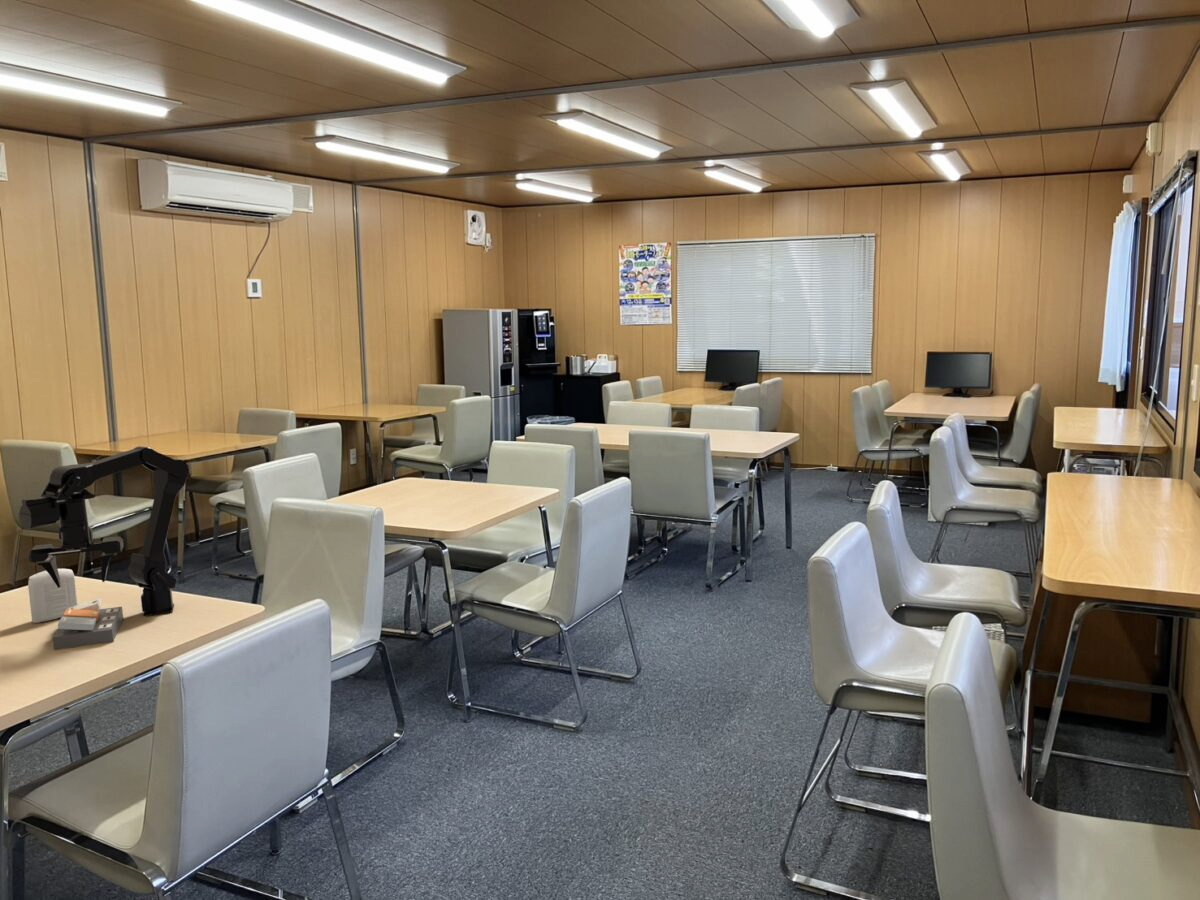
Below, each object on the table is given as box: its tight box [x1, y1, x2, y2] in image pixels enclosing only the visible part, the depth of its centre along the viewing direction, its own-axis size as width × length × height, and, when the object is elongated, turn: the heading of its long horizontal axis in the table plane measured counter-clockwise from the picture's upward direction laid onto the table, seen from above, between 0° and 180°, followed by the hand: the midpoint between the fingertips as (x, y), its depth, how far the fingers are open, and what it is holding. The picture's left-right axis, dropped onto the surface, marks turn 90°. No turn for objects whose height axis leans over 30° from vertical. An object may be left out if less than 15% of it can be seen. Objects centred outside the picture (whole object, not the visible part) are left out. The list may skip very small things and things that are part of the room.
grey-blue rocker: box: [57, 617, 96, 630], centre depth 207 cm, size 7×5×2 cm, turn 112°
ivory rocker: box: [69, 597, 103, 610], centre depth 218 cm, size 7×5×2 cm, turn 111°
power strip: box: [51, 606, 124, 651], centre depth 214 cm, size 12×18×4 cm, turn 21°
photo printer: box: [27, 568, 79, 624], centre depth 225 cm, size 10×4×12 cm, turn 135°
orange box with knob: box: [63, 609, 100, 622], centre depth 213 cm, size 7×5×2 cm, turn 112°
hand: (81, 584), depth 212 cm, fingers open, 9 cm apart
